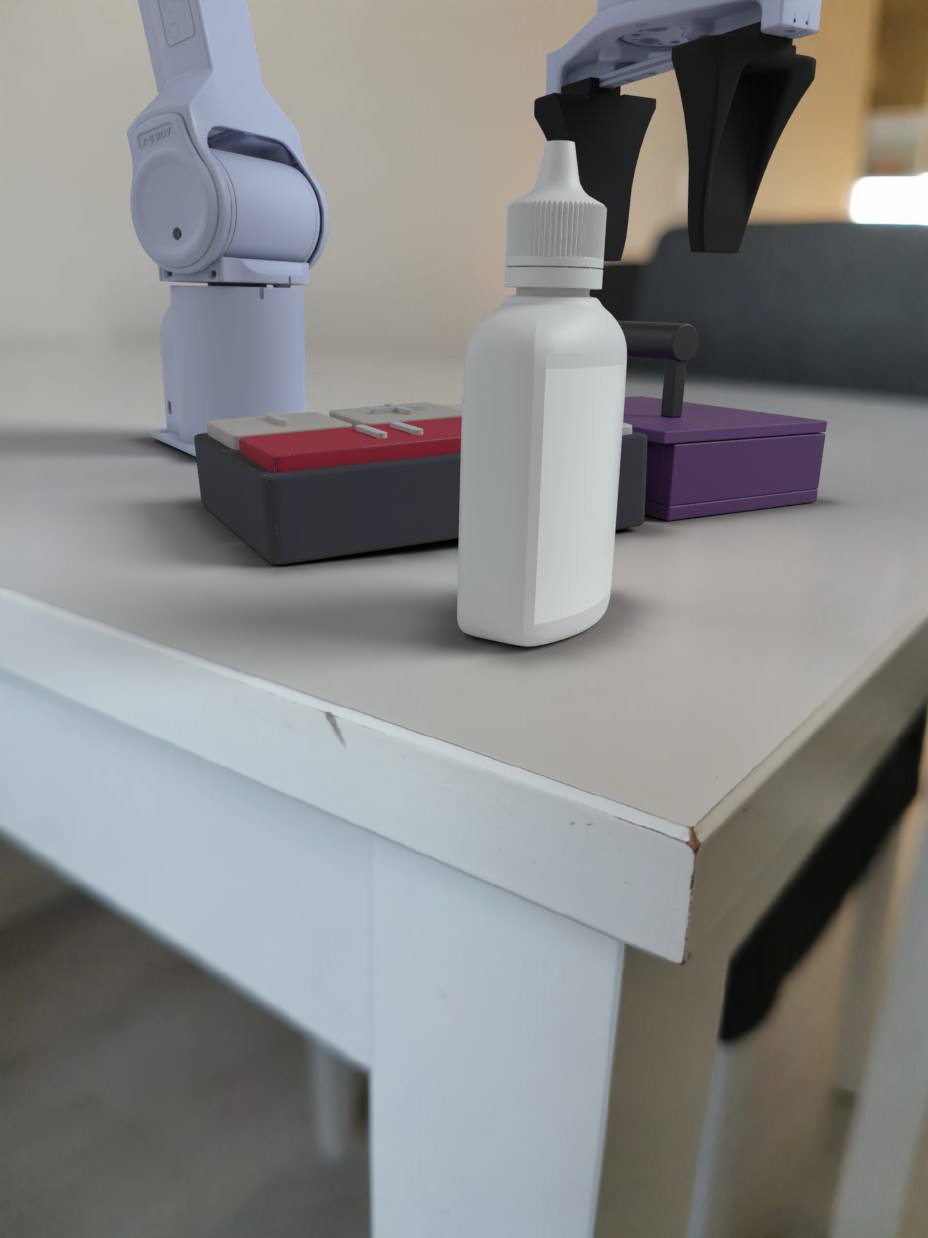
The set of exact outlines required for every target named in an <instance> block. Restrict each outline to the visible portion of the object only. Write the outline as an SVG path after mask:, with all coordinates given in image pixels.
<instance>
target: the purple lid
mask: <svg viewBox="0 0 928 1238" xmlns="http://www.w3.org/2000/svg"><path fill="white" fill-rule="evenodd" d="M616 321H617V322H618V324H619V325H620V327H621V329H622V331H623V334H624V336H625V340H626V347H627V358H633V359H645V360H655V361H656V360H658V361H664V371H663V384H662V396H661V398H658V397H651V396H643V395H638V396H636V395H635V396H625V400H624V415H623V423H626V424H630V425H632V431H634V432H639V433H643V434H645V435H646V436H647V441H650V442H655V443H661V444H672V443H685V442H699V441H712V440H726V439H739V438H752V437H766V436H779V435H793V434H806V433H826V432H827V427H828V420H824V419H816V418H808V417H800V416H795V415H794V416H793V415H787V414H786V415H785V414H778V413H771V412H763V411H758V410H757V411H755V410H749V409H740V408H734V407H728V406H727V407H725V406H718V405H711V404H705V403H704V404H703V403H695V402H689V401H684V396H685V384H686V373H687V363H688V361H689V360H691V359H692V358H693V357H694V356H695V354H696V353H697V350H698V347H699V334H698V332H697V329H696V328H695V327H694V326H693V325H692V324H691V323H684V322H683V323H681V322H661V321H637V320H617V319H616Z"/></svg>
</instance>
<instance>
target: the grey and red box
mask: <svg viewBox="0 0 928 1238" xmlns="http://www.w3.org/2000/svg"><path fill="white" fill-rule="evenodd" d="M461 429H462V403H452V404H451V403H450V404H442V405H441V404H436V403H432V402H427V401H425V402H424V401H423V402H411V403H397V404H395V403H391V402H389V403H385V404H384V405H375V406H366V407H353V408H352V407H351V408H341V409H339V408H338V409H331V410H329V411H328V415H327V414H324V413H320V412H317V411H307V412H303V413H291V414H279V415H276V414H273V413H269V414H265V416H256V417H244V418H232V419H220V420H211V421H207V431H208V433H201V434H197V435H195V437H194V443H195V452H196V457H195V460H196V461H195V462H196V468H197V475H198V486H199V494H200V501H201V504H202V506H204V507H205V508H206V509H207V510H208V511H209V512H211V514H213V515H214V516H215V517H216V518H217V519H219V520H220V521H221V522H222V523H223V524H224V525H226V527H228V528H229V530H230V531H232V532H234V533H235V534H236V535H237V536H238V537H239V538H240V539H242V541H244V542H245V543H246V544H247V545H248V546H249V547H251V548H252V549H253V550H254V551H255V552H256V553H258V554H259V555H260V556H261V557H262V558H263V559H264V560H266V561H267V562H268V563H270V564H272V565H289V564H294V563H295V564H296V563H301V562H302V563H303V562H307V561H309V562H310V561H314V560H322V559H329V558H335V557H341V556H350V555H355V554H361V553H369V552H375V551H382V550H388V549H395V548H402V547H409V546H414V545H415V546H416V545H422V544H429V543H435V542H441V541H449V540H455V539H459V505H460V466H461ZM646 464H647V436H646V435H645V434H643V433H639V432H634V431H632V425H630V424H626V423H623V429H622V443H621V458H620V472H619V486H618V500H617V513H616V527H615V531H617V530H624V529H629V528H635V527H640V526H642V525H643V524H644V523H645V515H646V514H645V490H646Z"/></svg>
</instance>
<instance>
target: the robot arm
mask: <svg viewBox="0 0 928 1238" xmlns="http://www.w3.org/2000/svg"><path fill="white" fill-rule="evenodd" d="M822 1H823V0H597V1H596V15H594V17H592V18H591V19H590V20H589V21H588V22H587V23H586V24H585V25H584V26H583V27H582V28H581V29H580V30H578V32H577V33H576V34H575V35H574V36H572V37H571V38H570V40H568V41H567V42H566V43H565V44H564V45H562V46H561V47H560V48H557V49H556V50H553V51H551V52H549V53H547V54H546V71H545V72H546V74H545V75H546V77H545V78H546V79H545V95H542V96H539V97H537V98H535V99H534V101H533V116H534V119H535V120H536V122H537V124H538V126H539V127H540V129H541V131H542V133H543V135H544V137H545V140H546V142H547V141H554V140H564V141H572V142H575V149H576V158H577V166H578V175H579V181H580V185H581V186H582V188H583V190H584V192H585V193H586V194H587V195H588V196H590V197H592V198H593V199H595V200H597V201H599V202H600V203H602V204H603V205H604V206H605V207H606V208H607V215H606V230H605V246H604V262H607V263H608V262H609V263H610V262H613V263H614V262H621V261H622V258H623V254H624V250H625V247H626V241H627V237H628V230H629V221H630V210H631V199H632V192H633V191H632V190H633V184H634V178H635V175H636V169H637V165H638V162H639V156H640V152H641V149H642V147H643V143H644V140H645V137H646V134H647V131H648V128H649V126H650V123H651V121H652V118H653V116H654V114H655V111H656V109H657V99H656V98H654V97H646V96H640V95H632V94H625V93H623V94H621V92H622V91H621V90H622V86H625V85H629V84H631V83H635V82H639V81H642V80H645V79H648V78H651V77H655V76H658V75H662V74H665V73H668V72H671V71H674V73H675V78H676V82H677V86H678V90H679V94H680V100H681V105H682V106H681V107H682V111H683V118H684V126H685V134H686V146H687V161H688V162H687V163H688V164H687V165H688V169H687V171H688V174H687V175H688V176H687V177H688V178H687V182H688V183H687V233H688V241H689V249H690V253H698V254H699V253H700V254H701V253H702V254H721V255H722V254H724V255H725V254H726V255H728V254H729V255H731V254H739V252H740V248H741V245H742V242H743V239H744V236H745V232H746V229H747V226H748V223H749V220H750V216H751V214H752V210H753V207H754V204H755V201H756V198H757V195H758V193H759V190H760V186H761V183H762V181H763V178H764V175H765V173H766V171H767V168H768V165H769V162H770V160H771V158H772V155H773V153H774V151H775V148H776V146H777V145H778V142H779V140H780V138H781V137H782V134H783V132H784V130H785V128H786V126H787V124H788V122H789V121H790V119H791V118H792V115H793V114H794V112H795V111H796V108H797V107H798V105H799V104H800V103H801V100H802V99H803V97H804V96H805V94H806V93H807V91H808V90H809V88H810V87H811V85H812V84H813V82H814V81H815V78H816V70H817V69H816V68H817V59H816V58H815V57H813V56H810V55H806V54H805V55H804V54H800V53H797V45H796V44H793V43H794V39H802V38H806V37H808V36H812V35H815V34H818V33H819V31H820V21H821V12H822ZM137 3H138V8H139V12H140V16H141V21H142V26H143V30H144V35H145V40H146V45H147V48H148V53H149V58H150V63H151V67H152V71H153V76H154V81H155V86H156V89H157V95H156V96H155V98H153V100H151V101H150V102H149V103H148V104H147V105H146V106H145V108H144V109H143V110H142V111H141V112H140V113H139V114H138V115H137V116H136V118H135V119H134V120H133V122H132V123H131V124H130V125H129V127H128V128H127V130H126V136H127V140H128V144H129V149H130V156H131V162H132V177H131V178H132V179H131V188H130V201H129V202H130V205H129V206H130V213H131V220H132V226H133V228H134V231H135V235H136V237H137V240H138V242H139V243H140V245H141V247H142V249H143V250H144V252H145V254H146V255H147V256H148V257H149V258H150V259H151V260H152V262H153V263H155V264H156V265H158V268H157V269H158V281H160V282H169V283H170V282H171V283H190V284H207V285H182V284H181V285H177V284H176V285H171V284H170V285H169V296H170V297H169V298H170V305H169V306H168V307H167V309H166V311H165V313H164V315H163V318H162V321H161V324H160V333H159V338H160V339H159V341H160V353H161V356H160V357H161V368H162V382H163V397H164V409H165V410H164V411H165V424H166V428H153V429H150V437H151V438H153V439H155V440H156V441H157V440H158V441H160V442H162V443H164V444H166V445H169V446H171V447H173V448H175V449H177V450H179V451H182V452H184V453H186V454H189V455H190V456H193V457H195V458H196V452H195V443H194V437H195V435H197V434H201V433H208V431H207V421H211V420H220V419H232V418H244V417H256V416H265V414H269V413H273V414H276V415H279V414H291V413H303V412H308V396H307V395H308V394H307V362H306V361H307V359H306V358H307V357H306V322H305V289H304V288H295V287H291V286H307V287H308V286H310V270H311V269H312V268H313V267H315V265H316V264H317V262H318V261H319V260H320V258H321V257H322V254H323V253H324V251H325V248H326V245H327V243H328V237H329V232H330V210H329V206H328V201H327V199H326V198H327V197H326V195H325V193H324V190H323V188H322V186H321V185H320V183H319V181H318V180H317V179H316V177H315V175H314V174H313V173H312V171H311V169H310V168H309V165H308V163H307V161H306V158H305V154H304V150H303V145H302V140H301V135H300V133H299V131H298V130H297V128H296V127H295V126H294V124H293V123H292V121H290V119H289V118H288V116H287V115H286V113H284V111H283V110H282V109H281V107H280V106H279V105H278V103H277V102H276V101H275V100H274V98H273V97H272V96H271V94H270V93H269V92H268V90H267V89H266V86H265V85H264V79H263V76H262V75H263V74H262V70H261V64H260V60H259V54H258V49H257V44H256V39H255V34H254V28H253V23H252V18H251V13H250V7H249V3H248V0H137ZM268 286H272V287H268Z"/></svg>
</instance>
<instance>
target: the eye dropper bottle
mask: <svg viewBox="0 0 928 1238" xmlns="http://www.w3.org/2000/svg"><path fill="white" fill-rule="evenodd" d="M538 171H539V172H538V175H537V180H536V183H534V186H533V188H532V189H531V190H530V191H529V192H528V193H527V194H526V195H523V196H521V197H520V198H518V199H516V200H514V201H511V202H510V203H509V204H508V206H507V208H506V209H507V210H506V213H507V214H506V239H505V265H504V266H505V269H504V288H515V289H516V291H515V294H513V295H508V296H507V297H506V298H505V299H504V300H503V302H502V303H501V304H499V305H498V306H497V307H495V308H494V309H492V310H491V311H490V312H488V313H487V314H486V315H485V316H484V317H483V318H482V319H481V320H480V321H479V322H478V324H477V325H476V326H475V327H474V329H473V331H472V333H470V336H469V339H468V341H467V345H466V347H465V354H464V361H463V375H462V376H463V379H462V380H463V383H462V398H461V399H462V401H461V402H462V403H461V404H462V429H461V466H460V505H459V538H458V553H457V555H458V557H457V558H458V559H457V593H456V594H457V600H456V607H457V608H456V619H457V625H458V628H459V629H460V630H461V631H462V633H464V634H467V635H470V636H472V637H475V638H479V639H484V640H489V641H493V642H499V643H503V644H508V645H513V646H520V647H537V646H543V645H548V644H550V643H551V644H552V643H555V642H558V641H562V640H565V639H569V638H571V637H573V636H576V635H579V634H580V633H583V632H585V631H586V630H588V629H590V628H591V627H592V626H594V625H595V624H596V623H597V622H599V621H600V620H601V619H602V618H603V616H604V615H605V613H606V612H607V609H608V607H609V603H610V600H611V593H612V583H613V582H612V581H613V569H614V567H613V566H614V555H615V540H616V539H615V538H616V530H615V527H616V513H617V500H618V486H619V472H620V458H621V443H622V429H623V415H624V400H625V397H626V383H627V382H626V381H627V365H628V364H627V363H628V362H627V361H628V357H627V347H626V340H625V336H624V334H623V331H622V329H621V327H620V325H619V324H618V322H617V321H618V320H617V319H616V318H615V316H614V315H613V314H612V313H611V312H610V311H608V310H607V308H605V307H604V306H603V304H602V303H601V300H599V299H598V298H597V297H593V296H591V295H590V292H591V290H603V276H604V262H605V261H604V246H605V230H606V215H607V208H606V207H605V206H604V205H603V204H602V203H600V202H599V201H597V200H595V199H593V198H592V197H590V196H588V195H587V194H586V193H585V192H584V190H583V188H582V186H581V185H580V181H579V175H578V166H577V158H576V149H575V142H572V141H564V140H554V141H547V140H546V141H545V144H544V149H543V153H542V157H541V162H540V167H539V170H538ZM616 320H617V321H616Z"/></svg>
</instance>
